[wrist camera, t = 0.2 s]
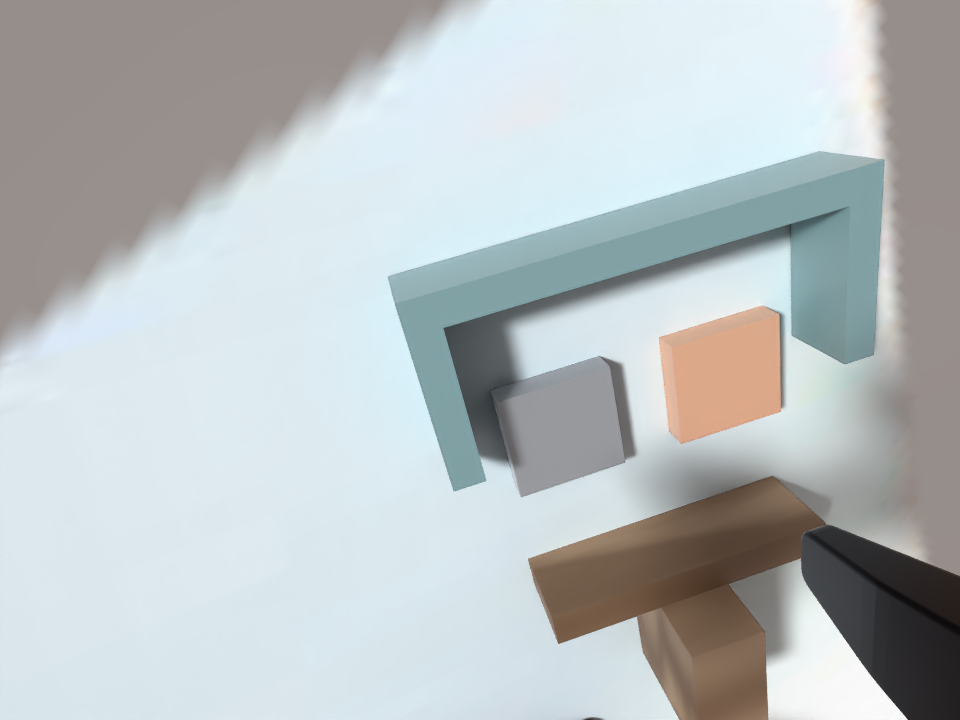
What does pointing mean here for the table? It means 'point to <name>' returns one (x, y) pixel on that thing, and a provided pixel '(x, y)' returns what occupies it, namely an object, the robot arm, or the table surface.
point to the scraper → (684, 592)
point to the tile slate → (559, 425)
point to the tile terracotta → (722, 373)
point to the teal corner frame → (652, 240)
